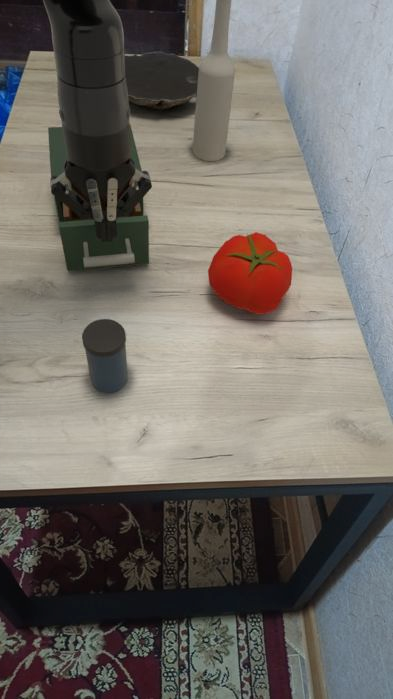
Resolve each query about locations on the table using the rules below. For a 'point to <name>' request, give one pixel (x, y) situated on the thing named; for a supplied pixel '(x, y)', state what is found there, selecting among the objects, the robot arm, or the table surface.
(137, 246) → the drawer
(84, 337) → the plastic container
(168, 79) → the rough clay dish
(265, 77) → the table surface
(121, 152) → the robot arm
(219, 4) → the bottle
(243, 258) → the tomato
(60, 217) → the cabinet
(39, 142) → the table surface
